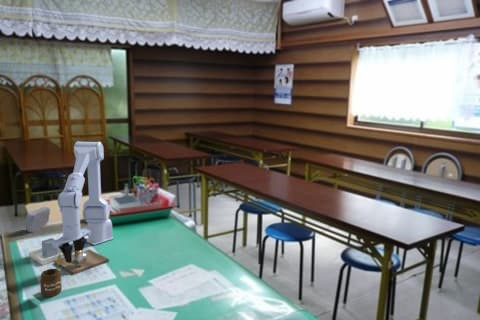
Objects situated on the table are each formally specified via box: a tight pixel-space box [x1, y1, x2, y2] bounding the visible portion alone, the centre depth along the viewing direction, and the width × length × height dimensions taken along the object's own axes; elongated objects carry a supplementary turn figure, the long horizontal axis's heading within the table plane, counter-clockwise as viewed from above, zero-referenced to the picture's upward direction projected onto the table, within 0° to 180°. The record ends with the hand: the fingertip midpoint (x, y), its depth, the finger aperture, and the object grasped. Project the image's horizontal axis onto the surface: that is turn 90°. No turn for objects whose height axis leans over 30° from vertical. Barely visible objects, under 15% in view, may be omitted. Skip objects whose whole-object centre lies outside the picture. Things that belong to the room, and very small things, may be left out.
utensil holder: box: [39, 254, 62, 298], centre depth 117 cm, size 6×6×12 cm
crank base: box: [53, 249, 110, 275], centre depth 140 cm, size 14×14×1 cm
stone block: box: [25, 206, 51, 233], centre depth 171 cm, size 12×5×10 cm, turn 168°
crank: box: [76, 250, 87, 266], centre depth 137 cm, size 8×4×6 cm, turn 15°
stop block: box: [41, 237, 58, 258], centre depth 144 cm, size 4×4×6 cm
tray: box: [28, 247, 64, 266], centre depth 144 cm, size 11×11×2 cm
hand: (73, 259), depth 134 cm, fingers open, 3 cm apart
